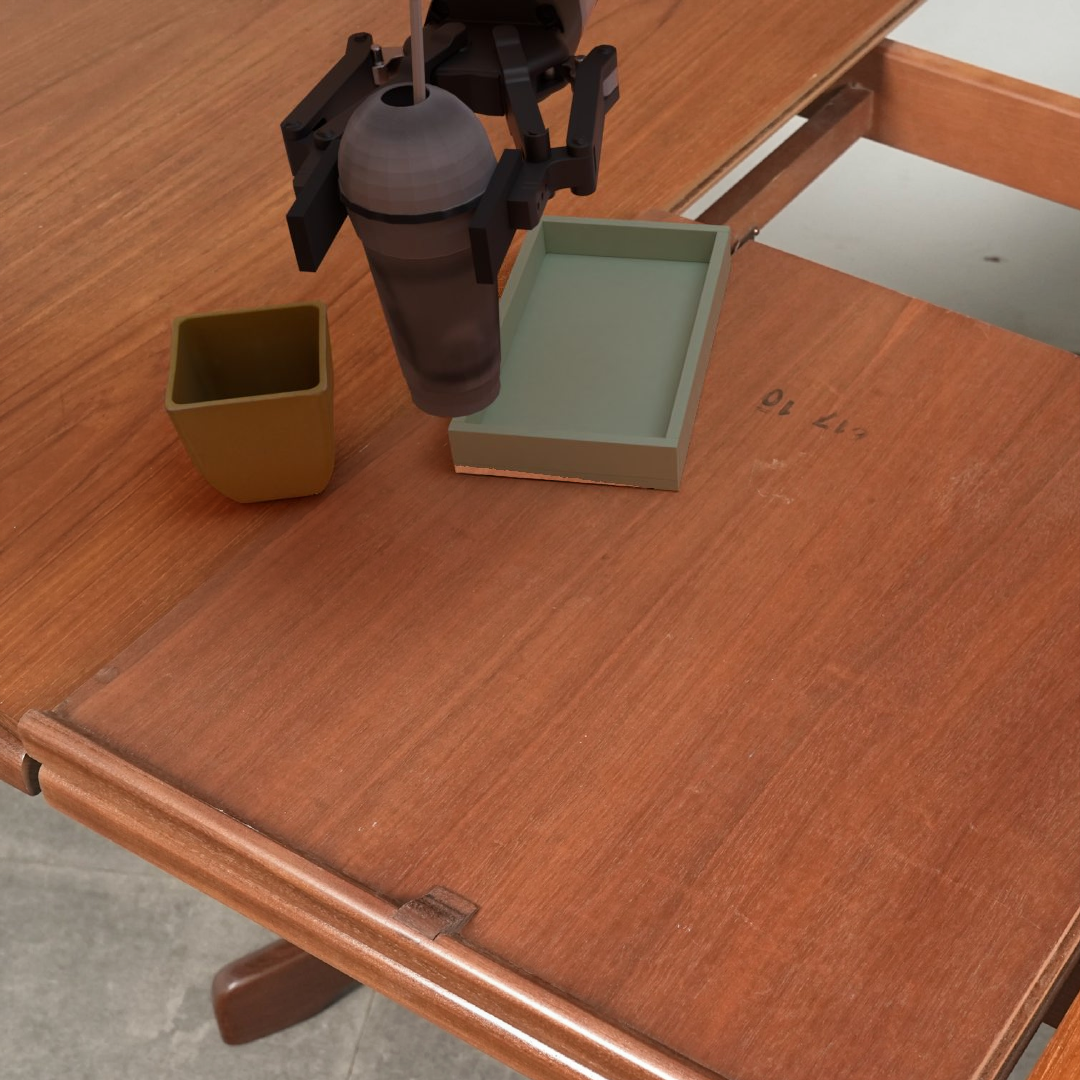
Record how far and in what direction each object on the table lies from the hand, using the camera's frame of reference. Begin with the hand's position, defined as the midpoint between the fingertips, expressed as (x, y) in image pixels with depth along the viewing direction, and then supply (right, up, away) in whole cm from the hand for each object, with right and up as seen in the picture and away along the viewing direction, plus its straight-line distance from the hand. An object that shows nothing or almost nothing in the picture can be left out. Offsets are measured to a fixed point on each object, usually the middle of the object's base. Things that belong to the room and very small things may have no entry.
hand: (390, 250), depth 66 cm
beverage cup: (+1, -4, +12) cm, 12 cm away
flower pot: (-12, -6, +27) cm, 30 cm away
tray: (+7, +2, +34) cm, 35 cm away
